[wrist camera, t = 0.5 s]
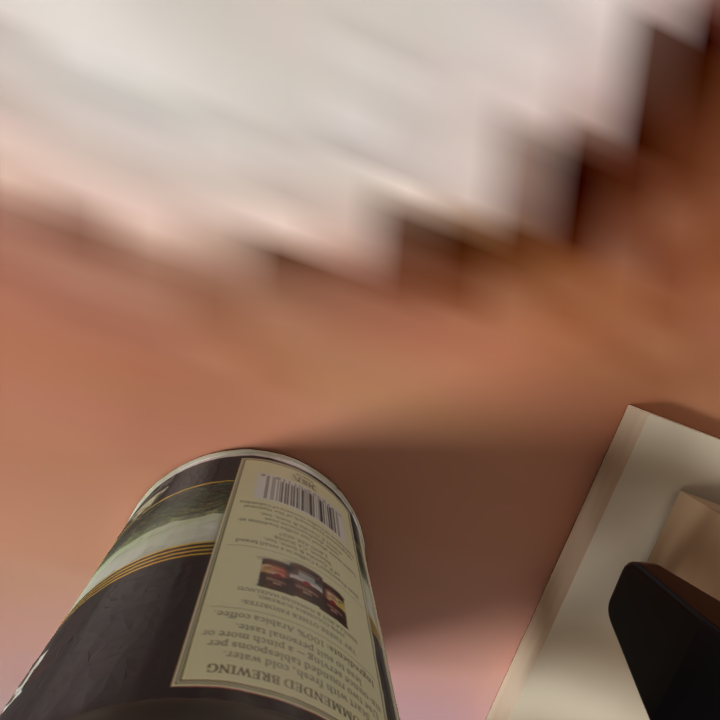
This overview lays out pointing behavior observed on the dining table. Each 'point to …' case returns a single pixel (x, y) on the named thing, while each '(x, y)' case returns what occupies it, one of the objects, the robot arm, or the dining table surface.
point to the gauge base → (605, 575)
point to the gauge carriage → (691, 543)
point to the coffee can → (223, 607)
